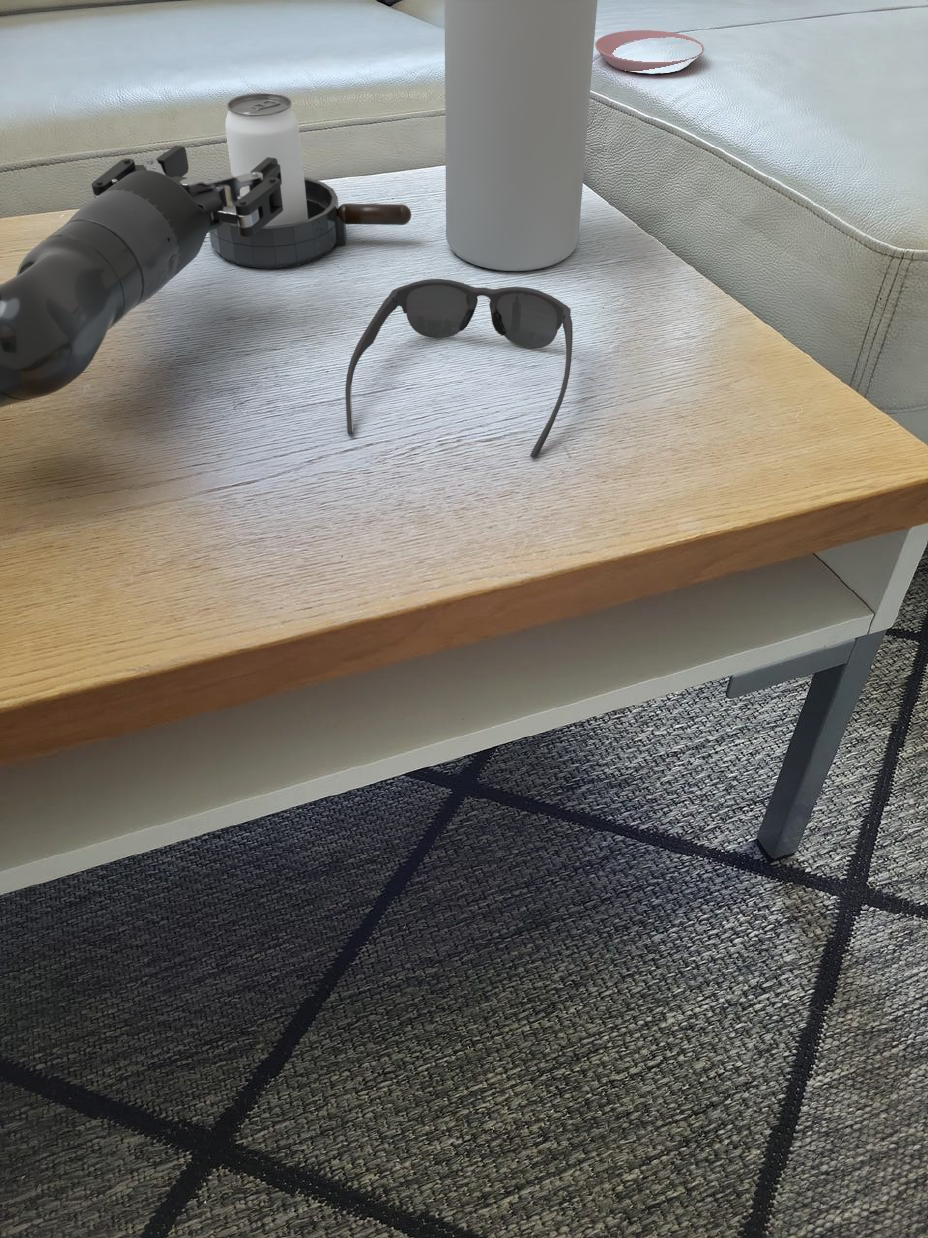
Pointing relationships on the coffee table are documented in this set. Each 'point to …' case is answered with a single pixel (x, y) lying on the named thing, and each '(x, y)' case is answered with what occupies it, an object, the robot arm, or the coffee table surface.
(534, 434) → the coffee table surface
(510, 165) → the cylinder vase
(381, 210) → the pan handle
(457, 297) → the sunglasses
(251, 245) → the pan
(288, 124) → the can
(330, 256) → the coffee table surface
